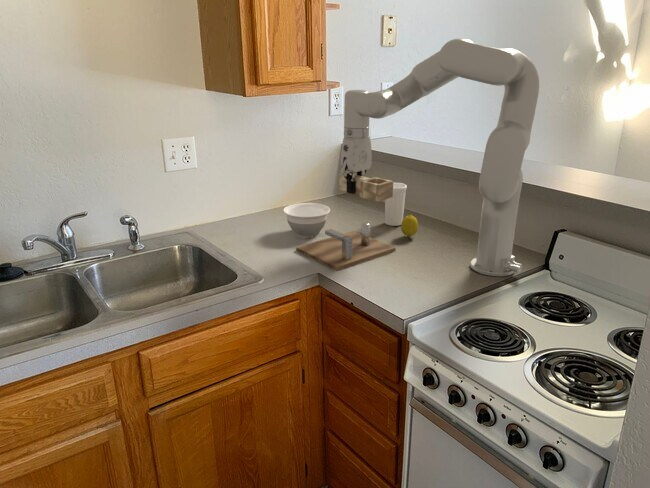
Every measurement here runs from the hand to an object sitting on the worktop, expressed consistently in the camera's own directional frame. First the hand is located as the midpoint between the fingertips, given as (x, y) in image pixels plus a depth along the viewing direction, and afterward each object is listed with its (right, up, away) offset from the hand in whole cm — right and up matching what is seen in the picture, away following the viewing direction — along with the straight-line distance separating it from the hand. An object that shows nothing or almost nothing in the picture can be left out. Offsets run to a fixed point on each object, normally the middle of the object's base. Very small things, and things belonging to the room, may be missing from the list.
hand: (354, 191), depth 167 cm
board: (-3, -19, +1) cm, 19 cm away
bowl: (-15, -13, +17) cm, 26 cm away
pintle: (+4, -17, +3) cm, 17 cm away
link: (+3, -1, -2) cm, 3 cm away
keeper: (-5, -20, -5) cm, 21 cm away
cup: (+15, -9, +25) cm, 31 cm away
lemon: (+19, -14, +12) cm, 27 cm away
